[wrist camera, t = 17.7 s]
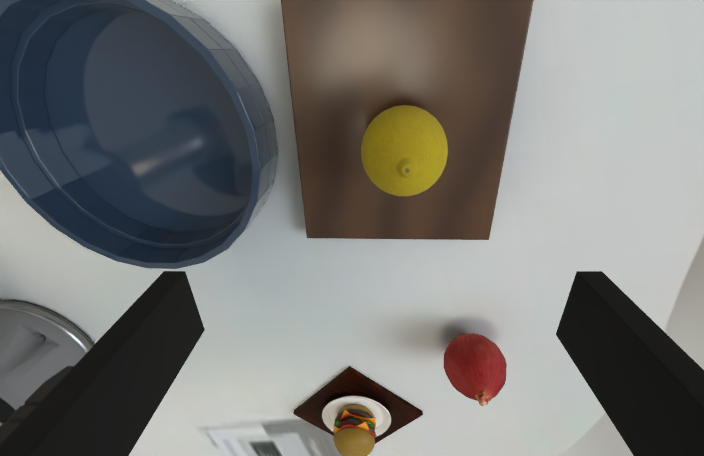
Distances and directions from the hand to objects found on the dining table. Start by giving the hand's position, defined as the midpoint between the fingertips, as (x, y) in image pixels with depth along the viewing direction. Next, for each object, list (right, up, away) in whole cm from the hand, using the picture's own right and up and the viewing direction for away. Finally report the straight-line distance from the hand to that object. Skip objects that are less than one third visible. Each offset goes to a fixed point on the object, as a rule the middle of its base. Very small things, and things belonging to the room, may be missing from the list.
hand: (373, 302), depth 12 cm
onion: (+12, -9, +25) cm, 29 cm away
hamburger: (0, -21, +32) cm, 39 cm away
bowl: (-17, +10, +17) cm, 26 cm away
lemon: (+3, +10, +14) cm, 17 cm away
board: (+3, +10, +15) cm, 18 cm away
